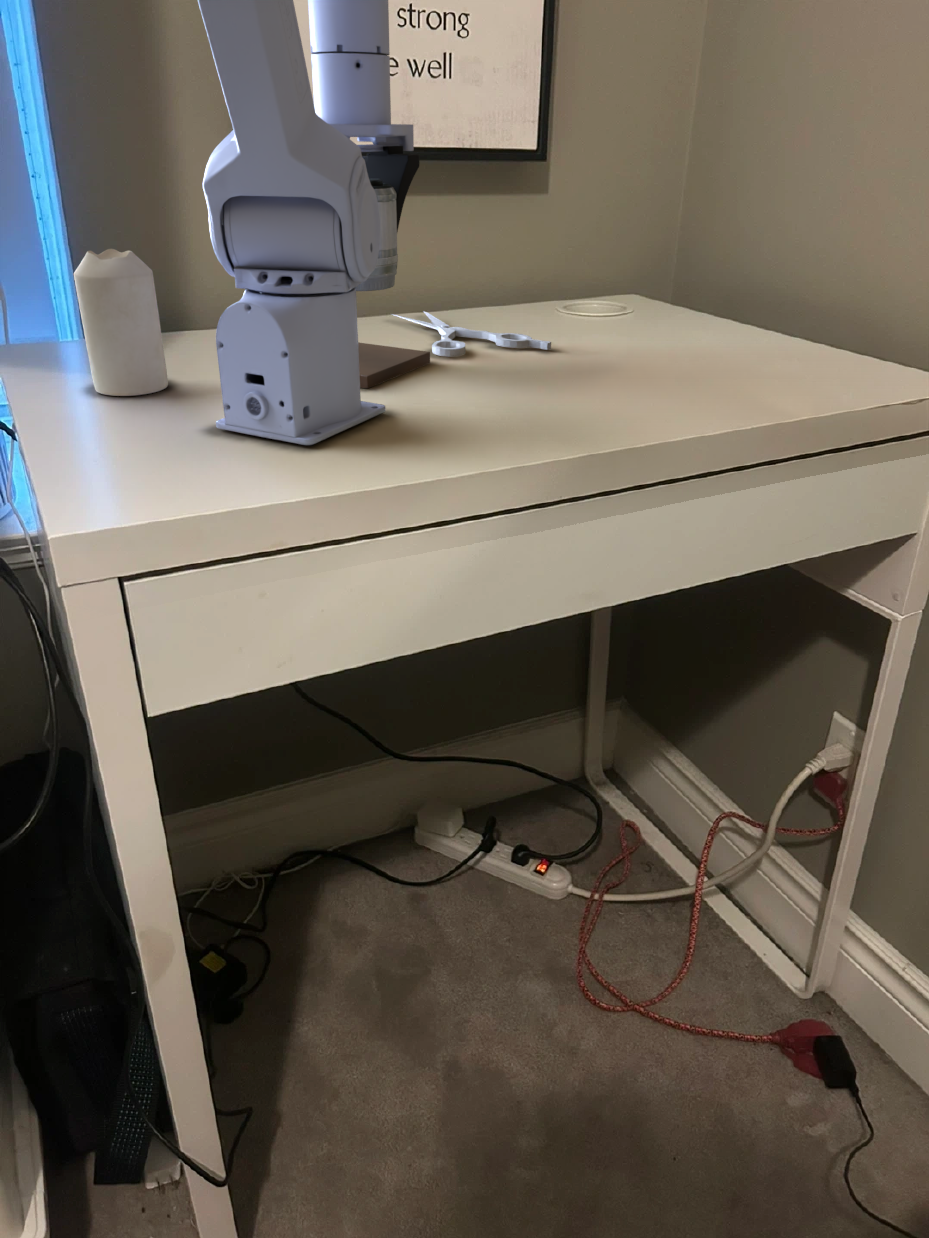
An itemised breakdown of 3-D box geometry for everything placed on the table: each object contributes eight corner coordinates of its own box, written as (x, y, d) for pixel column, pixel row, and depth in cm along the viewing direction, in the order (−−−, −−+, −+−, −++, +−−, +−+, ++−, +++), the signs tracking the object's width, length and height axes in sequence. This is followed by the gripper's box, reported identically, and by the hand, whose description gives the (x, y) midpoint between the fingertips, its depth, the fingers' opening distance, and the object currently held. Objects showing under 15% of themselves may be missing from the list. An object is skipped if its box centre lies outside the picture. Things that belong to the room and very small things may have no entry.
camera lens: (339, 278, 78) (334, 175, 74) (409, 282, 77) (407, 178, 73) (307, 289, 73) (300, 180, 69) (382, 294, 71) (378, 182, 68)
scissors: (450, 353, 80) (359, 312, 95) (450, 362, 80) (359, 320, 95) (552, 342, 84) (449, 305, 100) (551, 350, 85) (449, 312, 100)
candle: (91, 399, 69) (65, 256, 64) (97, 381, 73) (73, 246, 69) (168, 394, 70) (148, 254, 65) (168, 377, 75) (150, 245, 70)
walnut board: (367, 388, 72) (367, 376, 72) (266, 373, 76) (265, 361, 76) (430, 363, 80) (430, 351, 80) (335, 350, 84) (334, 339, 84)
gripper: (338, 48, 60) (348, 269, 66) (446, 60, 71) (445, 248, 78) (253, 50, 63) (270, 261, 69) (369, 61, 74) (375, 243, 80)
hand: (358, 254), depth 74 cm, fingers closed on camera lens, 6 cm apart
